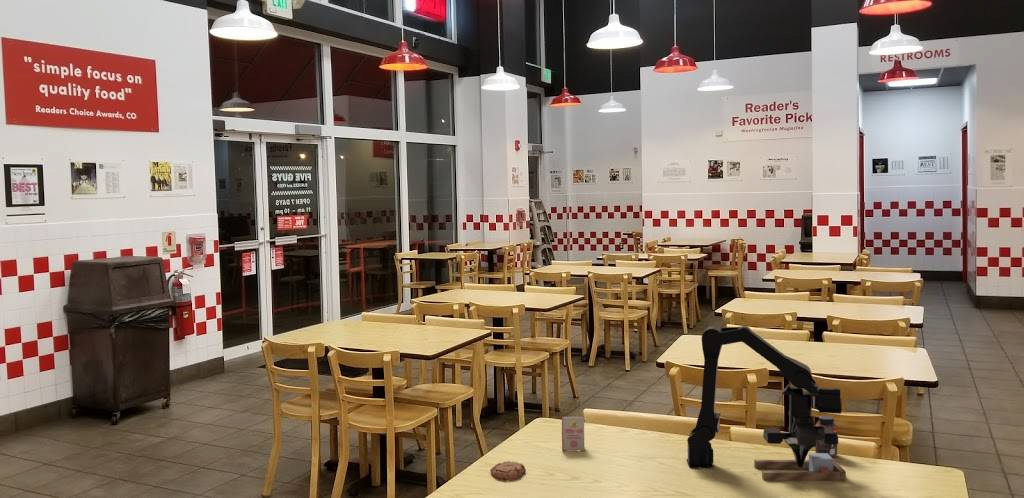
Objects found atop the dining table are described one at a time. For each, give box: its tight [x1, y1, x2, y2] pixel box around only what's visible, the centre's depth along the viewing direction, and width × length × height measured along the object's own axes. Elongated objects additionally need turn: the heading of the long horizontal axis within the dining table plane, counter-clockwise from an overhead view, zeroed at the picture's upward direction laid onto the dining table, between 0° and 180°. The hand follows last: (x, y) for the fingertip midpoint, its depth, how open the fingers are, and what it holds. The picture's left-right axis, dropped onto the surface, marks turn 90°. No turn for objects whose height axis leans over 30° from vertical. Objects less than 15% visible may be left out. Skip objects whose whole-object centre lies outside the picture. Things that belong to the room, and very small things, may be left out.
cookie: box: [489, 460, 527, 482], centre depth 222 cm, size 10×11×3 cm
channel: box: [753, 458, 847, 482], centre depth 218 cm, size 22×11×3 cm, turn 85°
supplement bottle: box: [814, 415, 838, 459], centre depth 233 cm, size 6×6×11 cm
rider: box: [808, 452, 834, 471], centre depth 218 cm, size 5×5×5 cm
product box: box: [561, 416, 585, 451], centre depth 244 cm, size 4×7×10 cm, turn 85°
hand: (800, 466), depth 218 cm, fingers closed
